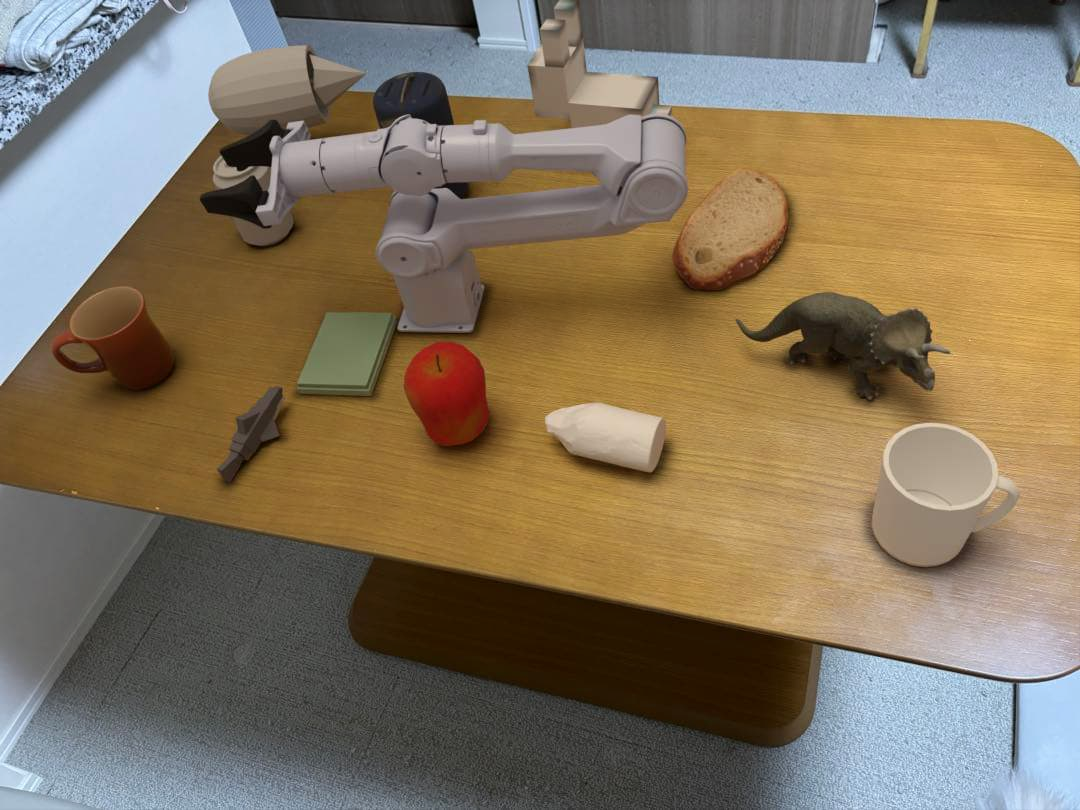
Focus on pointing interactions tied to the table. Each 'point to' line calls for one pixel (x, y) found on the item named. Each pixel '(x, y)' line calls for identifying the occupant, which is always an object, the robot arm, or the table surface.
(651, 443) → the white tapered cylinder
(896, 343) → the toy dinosaur
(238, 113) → the jet engine
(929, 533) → the mug
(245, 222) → the can
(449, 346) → the apple
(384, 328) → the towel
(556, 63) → the toy llama
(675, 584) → the table surface
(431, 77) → the canister
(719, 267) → the bread slice
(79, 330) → the mug
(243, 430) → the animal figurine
